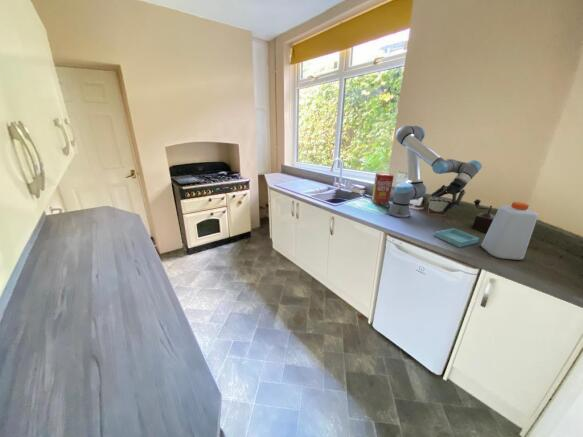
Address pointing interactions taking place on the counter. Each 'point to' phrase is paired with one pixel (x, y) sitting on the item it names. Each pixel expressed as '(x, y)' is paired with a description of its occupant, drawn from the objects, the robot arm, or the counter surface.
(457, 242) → the tray
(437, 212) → the food container
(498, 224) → the plastic bottle
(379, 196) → the food packaging
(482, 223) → the pepper mill
